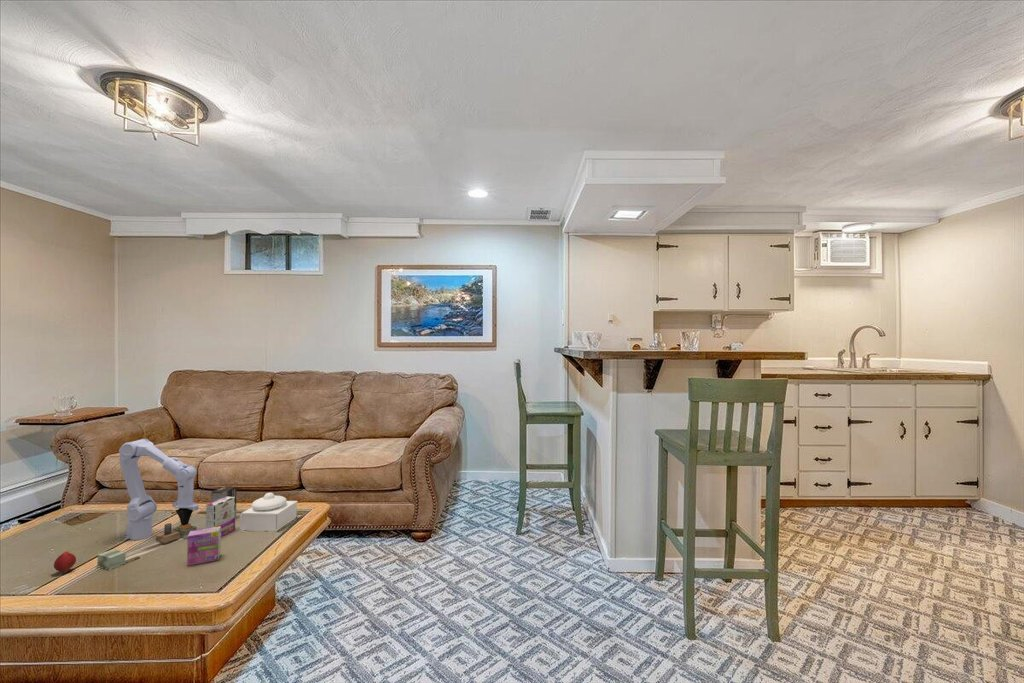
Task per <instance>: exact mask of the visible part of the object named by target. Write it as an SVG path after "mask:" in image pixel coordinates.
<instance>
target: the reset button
mask: <svg viewBox="0 0 1024 683" xmlns="http://www.w3.org/2000/svg"><path fill="white" fill-rule="evenodd" d="M191 526H192V523H191V522H189V523H188V524H186V525H181V524H179V525H178V527H179V529H181V530H184V529H187V528H190V527H191Z"/></svg>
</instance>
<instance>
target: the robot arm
mask: <svg viewBox="0 0 1024 683" xmlns="http://www.w3.org/2000/svg"><path fill="white" fill-rule="evenodd" d="M118 453H119V456H120V457H119V467H120V469H121V472H122V475H123V479H124V482H125V485H126V490H127V493H128V496H129V499H130V501H129V502H128V504H127V506H126V509H127V512H126V516H127V517H126V518H127V519H128V521H127V523H126V526H125V527H126V530H125V531H126V534H125V538H124V539H123V541H125V540H126V541H127V540H129V539H130V540H131V541H138V540H139V541H140V540H143V539H148V538H150V537H152V536H153V516H154V513H156V511H157V508H158V506H157V503H156V502H155V501H154V499H153V497H152V496H150V495H148V494H147V492H146V489H145V486H144V482H143V478H142V475H141V472H140V469H139V465H138V463H137V462H138V461H139V460H140V458H141V457H143V456H146V457H147V456H148V457H150V458H151V459H153V460H154V461H156V462H158V463H160V464H162V468H163V469H164V470H165V471H166V472H169V473H170V474H172V475H173V476H174V479H175V481H176V482H177V500H176V501H173V502H172V508H174V509H175V513H176V514H177V516H178V518H179V521H180V525H186V524H188V523H190V519H191V517H192V514H193V512H195V511H198V510H199V504H196V503H195V502H194V492H195V491H194V490H195V489H194V488H195V486H194V485H195V482H194V481H195V477H196V476H197V474H198V470H197V468H196V467H195V465H188V464H187V463H184V462H182V461H181V460H180V459H179V458H178V457H169V456H168V455H166V453H164V452H162V451H161V449H159V448H157V446H155V444H154V442H152V441H150V440H149V439H147V438H141V439H137V440H133V441H128V442H125V443H124V444H122V445H121V446H120V448H119V449H118Z"/></svg>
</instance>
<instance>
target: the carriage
mask: <svg viewBox="0 0 1024 683" xmlns="http://www.w3.org/2000/svg"><path fill="white" fill-rule="evenodd" d="M163 530H164V532H162V533H158V534H155V542H162V543H166V542H169V541H172V540H174V539H177V538H180V532H177V531H173V529H172V523H171V522H169V523H166V524H164V529H163Z"/></svg>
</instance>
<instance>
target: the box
mask: <svg viewBox="0 0 1024 683" xmlns="http://www.w3.org/2000/svg"><path fill="white" fill-rule="evenodd" d="M221 542H222V537H221V526H219V527H213V528H207V529H206V528H202V529H201V528H200V529H196V530H194V531H190V533H189V534H188V538H187V542H186V544H187V548H186V552H187V553H186V554H187V556H186V557H187V558H186V565H187V567H188V566H193V565H198V564H204V563H208V562H214V561H219V560H220V556H221V544H222V543H221Z"/></svg>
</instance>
